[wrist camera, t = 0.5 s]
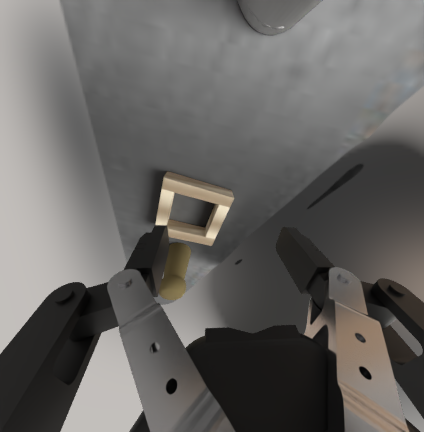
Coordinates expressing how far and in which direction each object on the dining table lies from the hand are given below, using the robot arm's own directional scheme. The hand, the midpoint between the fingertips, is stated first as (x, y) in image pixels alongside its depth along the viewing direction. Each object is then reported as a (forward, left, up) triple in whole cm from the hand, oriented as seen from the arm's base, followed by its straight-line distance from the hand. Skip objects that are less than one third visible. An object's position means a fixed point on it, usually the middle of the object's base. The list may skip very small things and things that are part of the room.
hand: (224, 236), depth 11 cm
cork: (+23, -1, -19) cm, 30 cm away
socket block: (+10, -1, -19) cm, 21 cm away
